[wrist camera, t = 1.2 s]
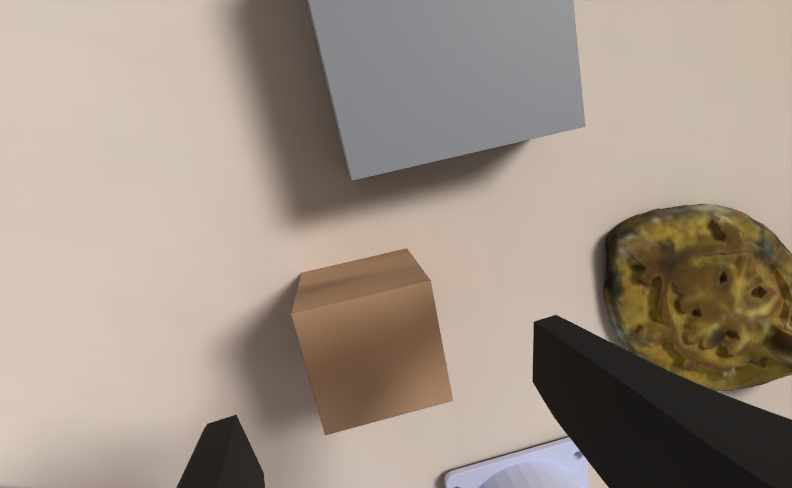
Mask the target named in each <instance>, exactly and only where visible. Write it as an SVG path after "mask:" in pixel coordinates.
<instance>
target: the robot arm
mask: <svg viewBox="0 0 792 488" xmlns="http://www.w3.org/2000/svg"><path fill="white" fill-rule="evenodd" d="M533 383H534V385H535V386H536V388H537V390H538V391H539V393H540V395H541V397H542V398H543V400H544V402H545V403H546V405H547V406H548V408H549V410H550V411H551V413H552V414H553V416H554V418H555V419H556V420H557V422H558V423H559V424H560V426H561V427H562V428H563V430H564V431H565V432H566V433H567V435H568V436H569V437H568V438H564V439H561V440H557V441H554V442H550V443H547V444H543V445H540V446H536V447H533V448H529V449H526V450H522V451H519V452H515V453H512V454H508V455H505V456H501V457H498V458H494V459H491V460H487V461H484V462H480V463H477V464H473V465H470V466H466V467H463V468H459V469H456V470H452V471H450V472H448V473H447V474H446V475H445V477H444V483H445V488H454V487H458V488H590V486H589V476H588V466H587V460H588V462H589V463H590V464H591V466H592V467H593V468H594V469H595V471H596V472H597V473H598V474H599V476H600V477H601V478H602V480H603V481H604V482H605V483H606V485H607V486H608V487H609V488H792V420H791V419H788V418H785V417H783V416H780V415H777V414H774V413H771V412H768V411H766V410H763V409H760V408H758V407H755V406H752V405H750V404H747V403H744V402H742V401H739V400H736V399H734V398H731V397H729V396H726V395H724V394H721V393H719V392H716V391H714V390H711V389H709V388H706V387H704V386H702V385H700V384H697V383H695V382H693V381H691V380H688V379H686V378H684V377H681V376H679V375H677V374H675V373H672V372H670V371H668V370H666V369H664V368H662V367H659V366H657V365H655V364H653V363H651V362H649V361H647V360H645V359H643V358H641V357H639V356H636V355H634V354H632V353H630V352H628V351H626V350H624V349H622V348H620V347H618V346H616V345H614V344H612V343H610V342H609V341H607V340H605V339H603V338H601V337H599V336H597V335H595V334H593V333H591V332H589V331H587V330H585V329H583V328H581V327H579V326H577V325H575V324H573V323H571V322H569V321H567V320H565V319H563V318H561V317H559V316H557V315H554V316H551V317H548V318H544V319H541V320H538V321H535V322H534V340H533ZM576 452H577V453H576ZM575 453H576V454H575ZM177 488H265V484H264V473H263V471H262V469H261V466H260V464H259V462H258V460H257V458H256V456H255V454H254V451H253V449H252V447H251V445H250V443H249V441H248V439H247V437H246V434H245V432H244V430H243V428H242V426H241V424H240V422H239V419H238V417H237V415H234V416H231V417H228V418H225V419H221V420H218V421H215V422H212V423H209V424H207V425H206V427H205V428H204V430H203V432H202V434H201V437H200V439H199V441H198V443H197V445H196V447H195V450H194V452H193V454H192V456H191V458H190V460H189V462H188V465H187V467H186V469H185V471H184V473H183V475H182V477H181V479H180V481H179V483H178V485H177Z"/></svg>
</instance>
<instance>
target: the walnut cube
mask: <svg viewBox="0 0 792 488" xmlns="http://www.w3.org/2000/svg"><path fill="white" fill-rule="evenodd" d="M291 316H292V319H293V323H294V326H295V330H296V333H297V337H298V341H299V344H300V348H301V351H302V355H303V358H304V362H305V365H306V369H307V373H308V376H309V380H310V383H311V387H312V390H313V394H314V397H315V401H316V405H317V408H318V412H319V415H320V419H321V422H322V426H323V430H324V433H325V435H328V434H331V433H335V432H339V431H343V430H346V429H350V428H354V427H357V426H361V425H365V424H369V423H372V422H376V421H380V420H383V419H387V418H391V417H395V416H398V415H402V414H406V413H409V412H413V411H417V410H420V409H424V408H428V407H432V406H435V405H439V404H443V403H446V402H450V401H453V398H452V393H451V388H450V382H449V377H448V372H447V366H446V361H445V355H444V350H443V345H442V339H441V334H440V329H439V323H438V318H437V313H436V307H435V302H434V297H433V291H432V286H431V281H430V279H429V278H428V276H427V275H426V274H425V272H424V271H423V270H422V268H421V267H420V266H419V264H418V263H417V261H416V260H415V259H414V257H413V256H412V255H411V253H410V252H409V251H408V249H403V250H398V251H394V252H390V253H385V254H381V255H377V256H372V257H368V258H364V259H359V260H355V261H351V262H346V263H342V264H338V265H333V266H329V267H325V268H320V269H316V270H312V271H307V272H303V273H301V276H300V280H299V284H298V288H297V292H296V296H295V300H294V304H293V308H292V312H291Z"/></svg>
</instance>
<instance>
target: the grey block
mask: <svg viewBox="0 0 792 488" xmlns="http://www.w3.org/2000/svg"><path fill="white" fill-rule="evenodd" d="M306 1H307V5H308V10H309V14H310V18H311V22H312V26H313V30H314V34H315V38H316V43H317V47H318V51H319V55H320V59H321V63H322V67H323V71H324V76H325V80H326V84H327V88H328V92H329V96H330V100H331V104H332V109H333V113H334V117H335V121H336V125H337V129H338V133H339V137H340V142H341V146H342V150H343V154H344V158H345V162H346V166H347V170H348V174H349V176H350V178H351V180H352V181H353V180H357V179H361V178H366V177H370V176H374V175H379V174H383V173H387V172H392V171H396V170H400V169H405V168H409V167H413V166H417V165H422V164H426V163H430V162H435V161H439V160H443V159H448V158H452V157H456V156H461V155H465V154H469V153H474V152H478V151H482V150H487V149H491V148H495V147H500V146H504V145H508V144H513V143H517V142H521V141H525V140H530V139H534V138H538V137H543V136H547V135H551V134H556V133H560V132H564V131H569V130H573V129H577V128H582V127H585V118H584V108H583V98H582V88H581V77H580V67H579V57H578V46H577V36H576V26H575V15H574V5H573V0H306Z"/></svg>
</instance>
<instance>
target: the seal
mask: <svg viewBox="0 0 792 488" xmlns="http://www.w3.org/2000/svg"><path fill="white" fill-rule="evenodd" d="M606 247H607V268H608V272H609V275H608V279H607V280H606V281H605V283H604V289H603V293H604V298H605V303H606V307H607V311H608V314H609V317H610V320H611V323H612V325H613V327H614V329H615V331H616V333H617V335H618V337H619V339H620V340H621V341H622V343H623V344H624V345H625V346H626V347H627V348H628V349H629V350H631V351H632V352H633V353H634V354H635V355H637V356H639V357H641V358H643V359H645V360H647V361H649V362H651V363H653V364H655V365H657V366H659V367H662V368H664V369H666V370H668V371H670V372H672V373H675V374H677V375H679V376H681V377H684V378H686V379H688V380H691V381H693V382H695V383H697V384H700V385H702V386H704V387H706V388H709V389H711V390H724V391H731V390H734V389H740V388H749V387H753V386H757V385H762V384H765V383H768V382H770V381H773V380H776V379H778V378H782V377H785V376H789V375H792V254H791V253H790V252H789V250H788V249H787V248H786V247H785V246H784V245H783V244H782V243H781V241H780V240H779V239H778V237H777V236H776V235H775V234H774V233H773V232H772V231H771V230H770V229H769V228H767V227H766V226H765V225H763V224H761V223H759V222H757V221H755V220H753V219H752V218H751V217H750V216H748V215H747V214H745V213H743V212H740V211H737V210H735V209H731V208H727V207H722V206H718V205H710V204H699V205H693V206H690V205H683V206H678V207H672V208H665V209H655V210H652V211H649V212H646V213H643V214H639V215H635V216H633V217H632V218H630V219H628V220H626V221H624V222H623V223H621V224H620V225H619V226H617V227H616V228H615V229H614V230H613V231H612V232H611V233H609V235H608V239H607V243H606Z"/></svg>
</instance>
